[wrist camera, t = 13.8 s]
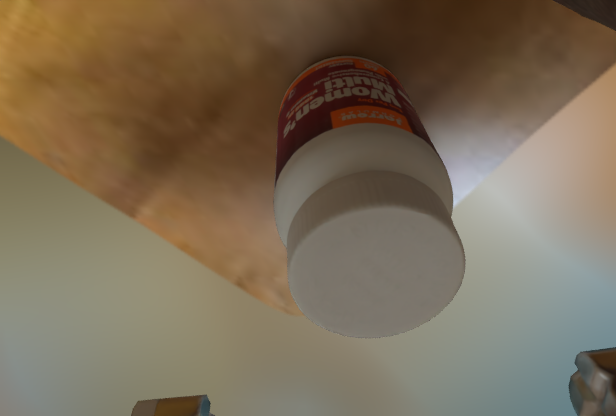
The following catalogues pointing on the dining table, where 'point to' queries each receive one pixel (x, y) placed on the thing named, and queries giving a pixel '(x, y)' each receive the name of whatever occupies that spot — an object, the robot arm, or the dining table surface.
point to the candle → (594, 10)
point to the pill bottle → (363, 203)
